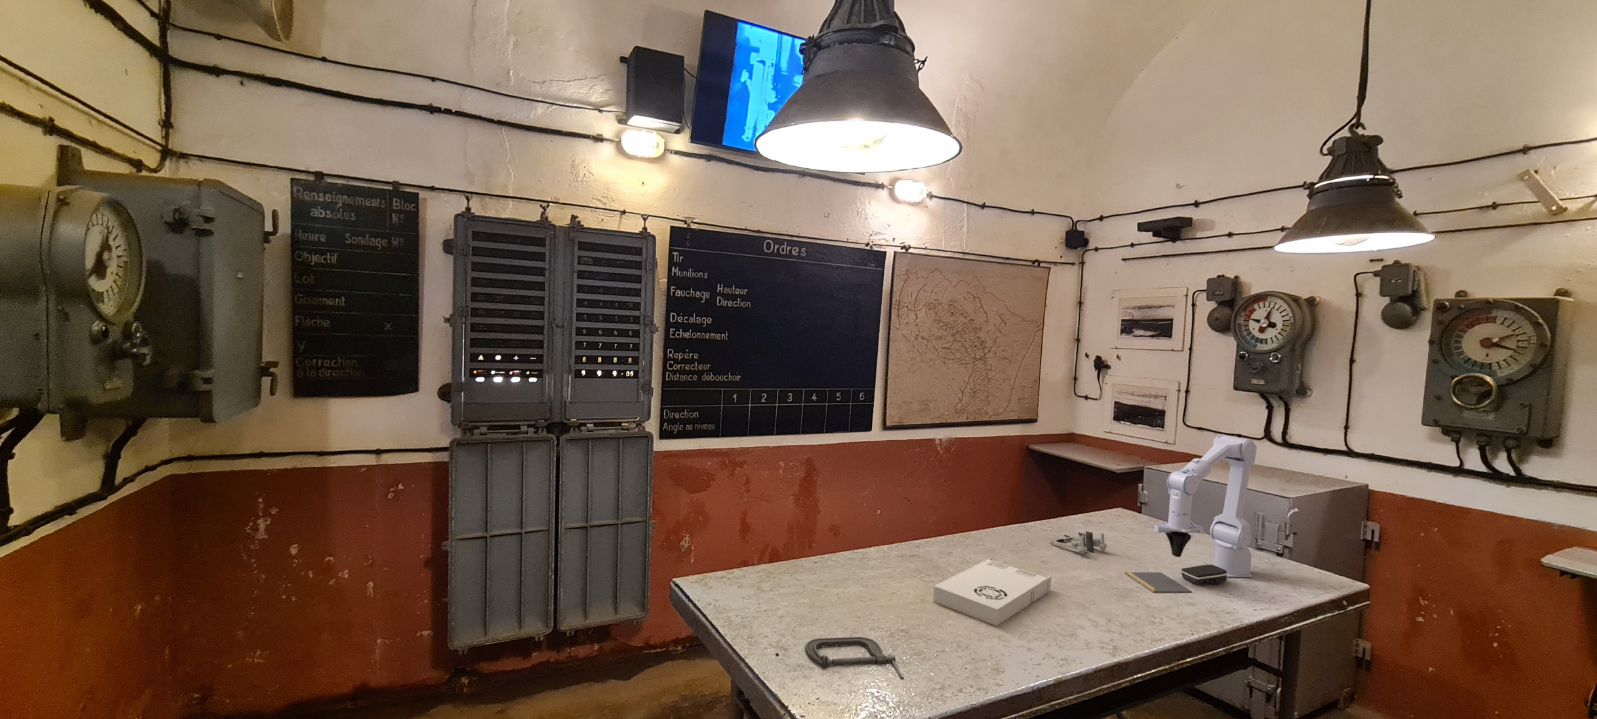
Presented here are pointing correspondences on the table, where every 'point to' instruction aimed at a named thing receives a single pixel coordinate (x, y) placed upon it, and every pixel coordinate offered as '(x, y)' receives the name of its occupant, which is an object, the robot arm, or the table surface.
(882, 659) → the c clamp
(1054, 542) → the bike brake
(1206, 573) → the battery charger
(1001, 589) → the white flat box
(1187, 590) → the mat
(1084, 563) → the table surface
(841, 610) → the table surface
